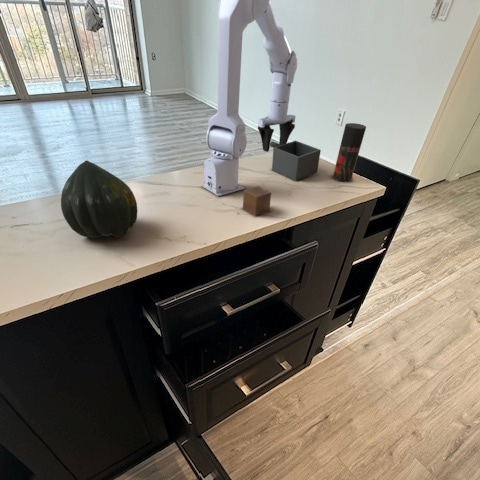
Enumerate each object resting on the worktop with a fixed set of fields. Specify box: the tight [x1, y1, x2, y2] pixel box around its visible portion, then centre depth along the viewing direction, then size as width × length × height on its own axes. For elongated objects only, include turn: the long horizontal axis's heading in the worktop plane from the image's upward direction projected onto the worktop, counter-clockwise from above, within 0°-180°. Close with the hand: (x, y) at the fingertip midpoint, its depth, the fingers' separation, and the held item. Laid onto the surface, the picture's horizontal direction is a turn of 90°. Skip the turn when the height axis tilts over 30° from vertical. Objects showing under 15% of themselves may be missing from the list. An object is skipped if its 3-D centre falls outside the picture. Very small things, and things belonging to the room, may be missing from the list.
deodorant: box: [332, 122, 367, 183], centre depth 98 cm, size 6×6×15 cm
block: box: [242, 185, 272, 217], centre depth 82 cm, size 5×5×5 cm
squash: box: [60, 159, 139, 239], centre depth 68 cm, size 14×15×15 cm
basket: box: [270, 140, 322, 182], centre depth 104 cm, size 10×17×7 cm, turn 39°
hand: (274, 149), depth 107 cm, fingers open, 7 cm apart
